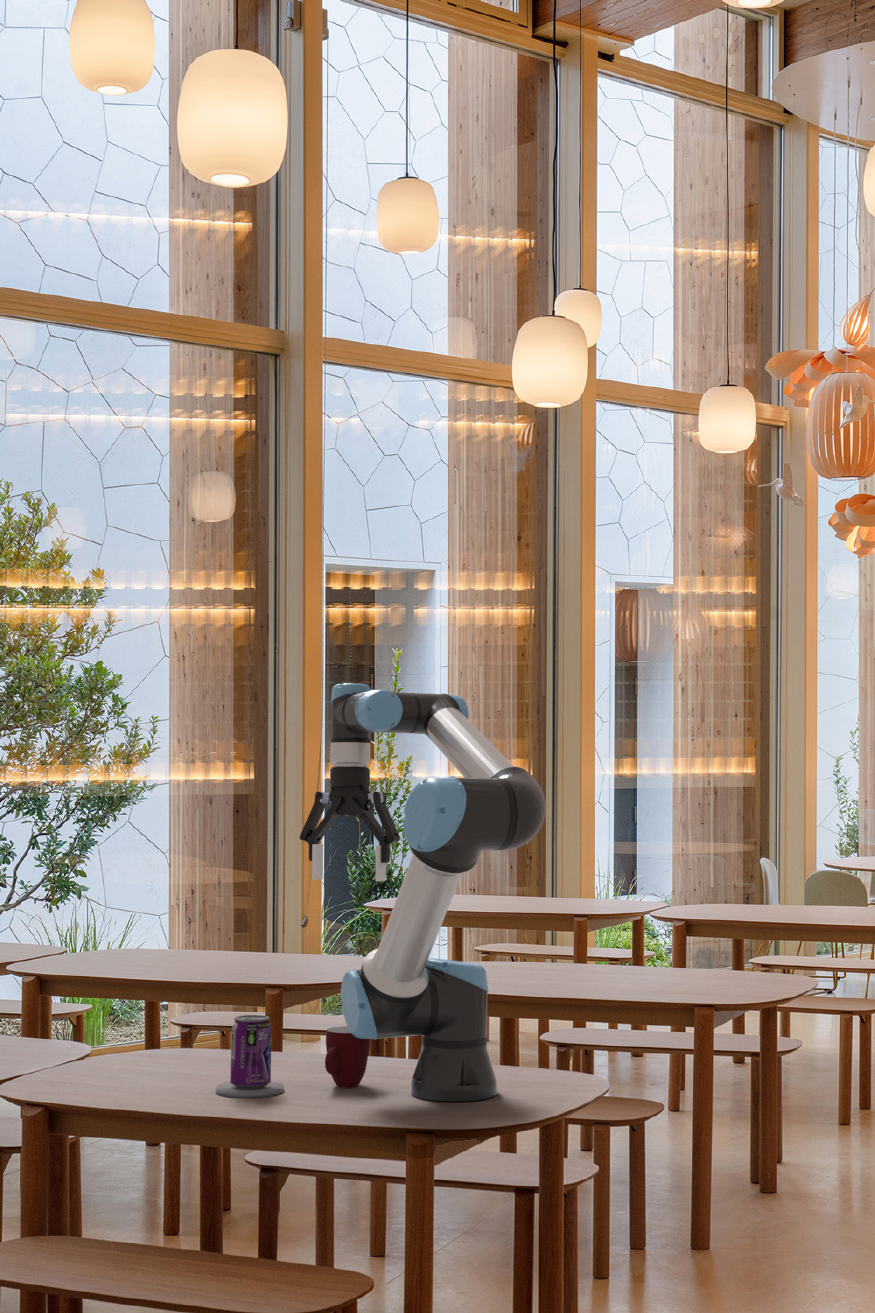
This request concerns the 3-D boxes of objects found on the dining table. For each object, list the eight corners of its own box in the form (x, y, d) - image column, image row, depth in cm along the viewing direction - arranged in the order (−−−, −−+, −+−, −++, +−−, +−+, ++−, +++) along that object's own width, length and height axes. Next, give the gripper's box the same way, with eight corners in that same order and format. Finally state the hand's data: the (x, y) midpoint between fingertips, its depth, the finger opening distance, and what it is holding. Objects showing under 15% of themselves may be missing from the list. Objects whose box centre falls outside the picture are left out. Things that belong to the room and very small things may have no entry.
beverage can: (259, 1091, 243) (261, 1021, 245) (223, 1088, 246) (224, 1019, 247) (277, 1084, 250) (278, 1015, 251) (241, 1081, 252) (243, 1013, 254)
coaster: (296, 1088, 250) (296, 1084, 251) (259, 1100, 240) (259, 1095, 240) (240, 1082, 256) (240, 1078, 256) (202, 1094, 245) (202, 1089, 245)
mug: (351, 1094, 246) (352, 1036, 247) (310, 1090, 249) (311, 1033, 250) (377, 1084, 255) (377, 1028, 256) (337, 1080, 258) (338, 1025, 259)
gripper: (418, 766, 261) (417, 881, 258) (303, 767, 272) (301, 877, 269) (399, 764, 254) (398, 882, 252) (283, 765, 265) (280, 879, 263)
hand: (348, 880), depth 260 cm, fingers open, 13 cm apart
